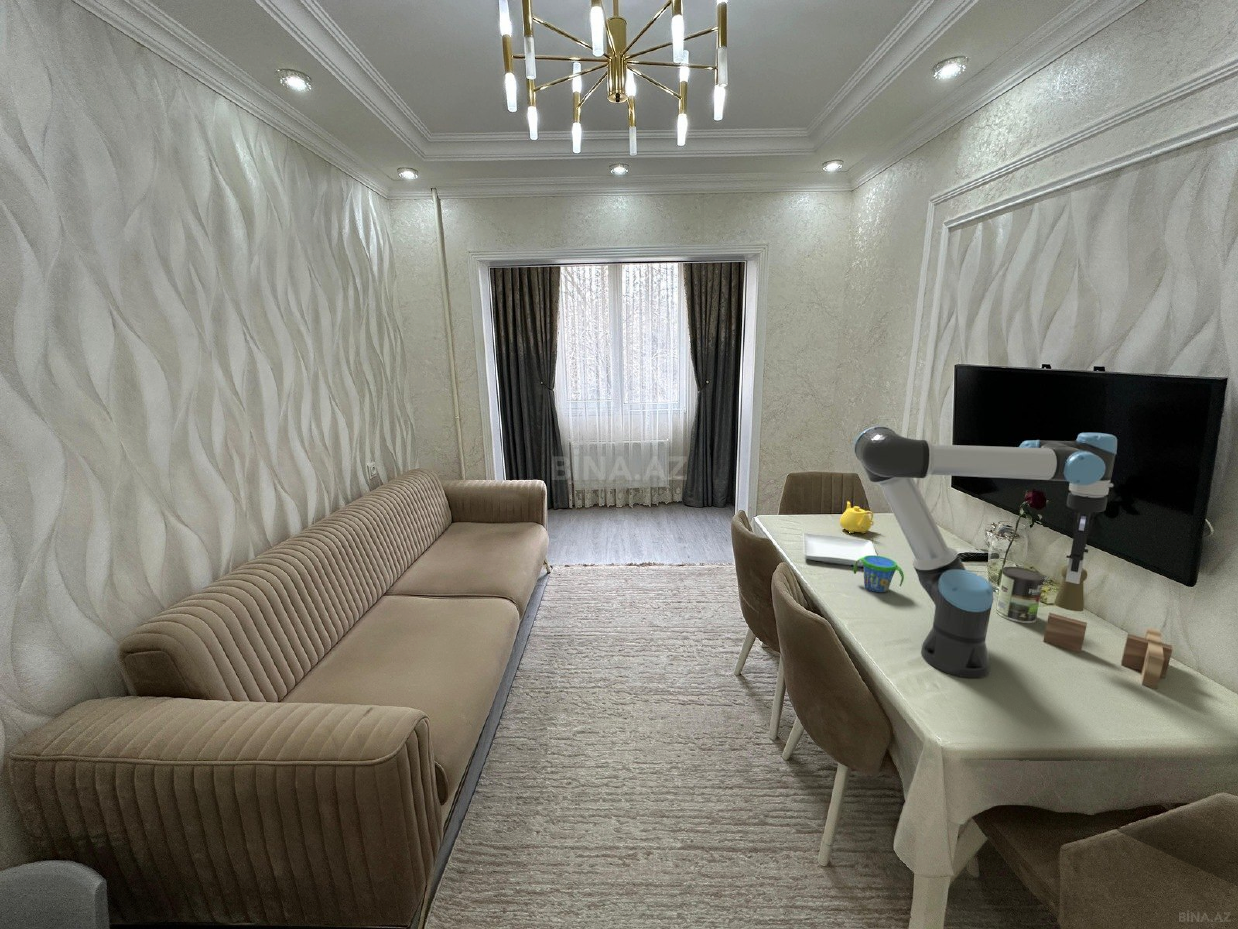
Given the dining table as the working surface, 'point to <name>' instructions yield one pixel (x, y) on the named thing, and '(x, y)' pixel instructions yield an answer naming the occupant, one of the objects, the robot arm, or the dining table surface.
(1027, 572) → the coffee can
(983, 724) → the dining table surface
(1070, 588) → the cork
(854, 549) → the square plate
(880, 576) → the snack cup
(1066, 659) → the dining table surface
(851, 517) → the teapot
